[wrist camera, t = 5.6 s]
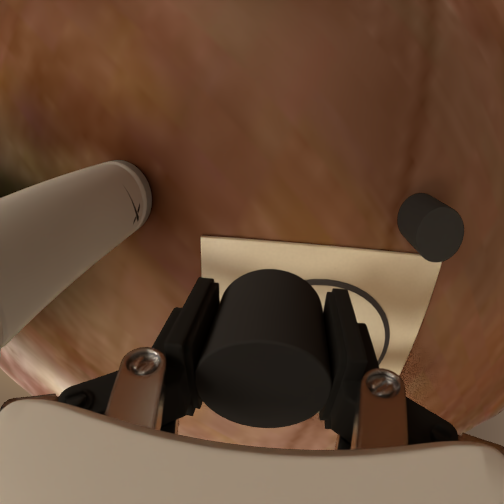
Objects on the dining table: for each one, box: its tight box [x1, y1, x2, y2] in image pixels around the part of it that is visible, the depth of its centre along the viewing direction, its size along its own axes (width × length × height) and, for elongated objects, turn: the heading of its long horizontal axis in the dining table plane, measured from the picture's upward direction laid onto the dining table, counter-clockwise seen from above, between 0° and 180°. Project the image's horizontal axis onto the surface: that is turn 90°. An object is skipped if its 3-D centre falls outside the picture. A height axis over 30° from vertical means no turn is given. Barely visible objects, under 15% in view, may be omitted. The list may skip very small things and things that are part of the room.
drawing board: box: [201, 235, 442, 413], centre depth 27 cm, size 20×20×1 cm
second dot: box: [398, 193, 464, 262], centre depth 19 cm, size 4×4×4 cm
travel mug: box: [0, 160, 152, 350], centre depth 14 cm, size 6×7×20 cm
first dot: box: [195, 269, 332, 428], centre depth 10 cm, size 4×4×4 cm
